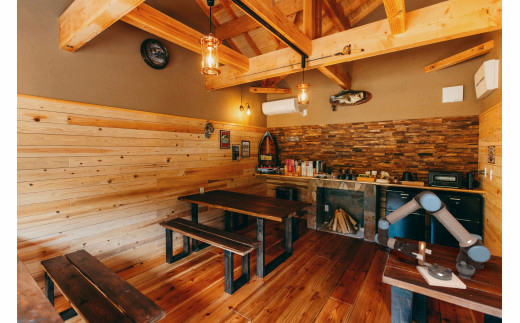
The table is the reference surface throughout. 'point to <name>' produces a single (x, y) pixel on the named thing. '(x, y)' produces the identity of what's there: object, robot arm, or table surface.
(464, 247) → the robot arm
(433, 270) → the crank handle
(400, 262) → the table surface
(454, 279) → the base plate
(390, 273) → the table surface
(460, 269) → the mortar and pestle
